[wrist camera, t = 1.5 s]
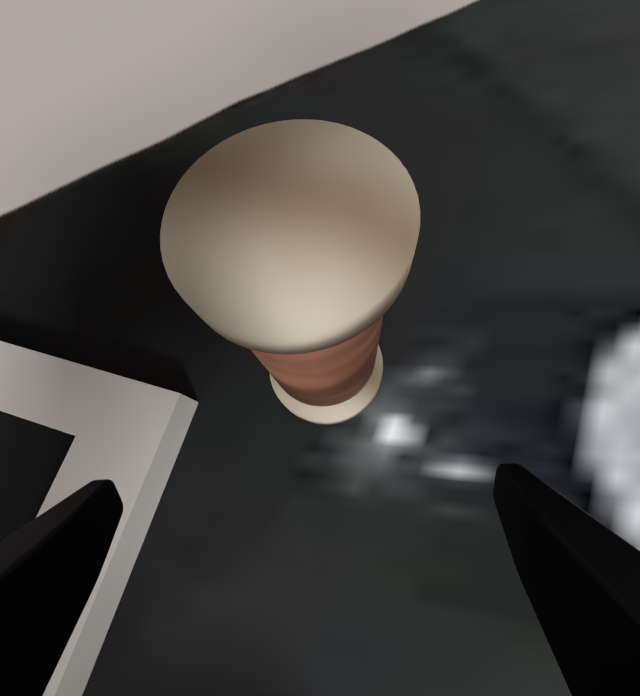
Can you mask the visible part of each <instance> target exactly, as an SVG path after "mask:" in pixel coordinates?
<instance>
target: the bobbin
mask: <svg viewBox="0 0 640 696" xmlns="http://www.w3.org/2000/svg"><path fill="white" fill-rule="evenodd" d="M419 229H420V207H419V200H418V195H417V192H416V189H415V186H414V183H413V181H412V179H411V177H410V176H409V174H408V172H407V170H406V169H405V167H404V166H403V165H402V163H401V162H400V160H399V159H398V158H397V157H396V156H395V155H394V154H393V153H392V152H391V151H390V150H389V149H388V148H387V147H385V146H384V145H383V144H381V143H380V142H379V141H377V140H376V139H374V138H372V137H371V136H369V135H367V134H365V133H363V132H361V131H358V130H356V129H354V128H351V127H348V126H345V125H341V124H338V123H333V122H328V121H321V120H309V119H302V120H286V121H277V122H273V123H268V124H263V125H260V126H257V127H254V128H250V129H248V130H245V131H243V132H240V133H238V134H236V135H234V136H232V137H230V138H228V139H226V140H224V141H222V142H221V143H219V144H218V145H216V146H215V147H213V148H212V149H210V150H209V151H208V152H206V153H205V154H204V155H203V156H202V157H200V158H199V159H198V160H197V161H196V162H195V163H194V164H193V165H192V166H191V167H190V168H189V169H188V170H187V172H186V173H185V174H184V175H183V177H182V178H181V179H180V181H179V182H178V184H177V185H176V187H175V189H174V190H173V192H172V194H171V196H170V198H169V201H168V203H167V205H166V208H165V211H164V215H163V218H162V223H161V231H160V249H161V254H162V260H163V264H164V267H165V269H166V272H167V275H168V277H169V279H170V281H171V283H172V284H173V286H174V288H175V289H176V291H177V292H178V293H179V294H180V296H181V297H182V298H183V300H184V301H185V302H186V303H187V304H188V305H189V306H190V307H191V308H192V309H193V310H194V311H195V312H196V313H197V314H198V315H199V316H200V318H201V319H202V320H203V321H204V322H205V323H207V324H208V325H209V326H210V327H211V328H212V329H213V330H214V331H215V332H217V333H218V334H220V335H221V336H223V337H224V338H226V339H227V340H230V341H232V342H234V343H236V344H238V345H240V346H242V347H245V348H248V349H251V350H252V352H253V353H254V354H255V355H256V357H257V358H258V359H259V360H260V362H261V363H262V364H263V365H264V367H265V368H266V369H267V370H268V372H269V374H270V380H271V383H272V387H273V389H274V391H275V393H276V395H277V396H278V398H279V399H280V401H281V402H282V403H283V404H284V405H285V406H286V407H287V408H288V409H289V410H290V411H291V412H292V413H293V414H295V415H296V416H297V417H299V418H301V419H303V420H305V421H308V422H311V423H315V424H322V425H331V424H338V423H342V422H345V421H348V420H350V419H352V418H354V417H356V416H357V415H359V414H360V413H361V412H363V411H364V410H365V409H366V408H367V407H368V406H369V404H370V403H371V402H372V400H373V399H374V397H375V395H376V393H377V391H378V389H379V385H380V382H381V378H382V372H383V360H382V354H381V350H380V347H379V345H378V343H379V337H380V331H381V326H382V320H383V314H384V313H385V312H386V311H387V310H388V309H389V308H390V307H391V306H392V304H393V303H394V301H395V300H396V298H397V297H398V295H399V294H400V292H401V290H402V288H403V286H404V284H405V282H406V280H407V276H408V273H409V270H410V267H411V263H412V260H413V256H414V252H415V248H416V244H417V241H418V235H419Z"/></svg>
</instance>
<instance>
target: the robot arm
mask: <svg viewBox="0 0 640 696" xmlns="http://www.w3.org/2000/svg"><path fill="white" fill-rule="evenodd" d="M493 497H494V502H495V505H496V508H497V511H498V514H499V517H500V520H501V523H502V526H503V529H504V532H505V536H506V539H507V542H508V545H509V548H510V551H511V554H512V557H513V560H514V563H515V566H516V569H517V572H518V574H519V576H520V579H521V581H522V584H523V586H524V588H525V590H526V593H527V595H528V597H529V599H530V602H531V604H532V606H533V609H534V611H535V613H536V615H537V618H538V620H539V622H540V624H541V627H542V629H543V631H544V633H545V636H546V638H547V640H548V642H549V645H550V647H551V649H552V651H553V654H554V656H555V658H556V661H557V663H558V665H559V667H560V670H561V672H562V674H563V676H564V679H565V681H566V683H567V685H568V688H569V690H570V692H571V694H572V696H640V551H639V550H637V549H636V548H635V547H633V546H632V545H631V544H629V543H628V542H626V541H625V540H624V539H622V538H621V537H619V536H618V535H617V534H615V533H614V532H613V531H611V530H610V529H608V528H607V527H606V526H604V525H603V524H601V523H600V522H599V521H597V520H596V519H594V518H593V517H592V516H590V515H589V514H588V513H586V512H585V511H583V510H582V509H581V508H579V507H578V506H576V505H575V504H574V503H572V502H571V501H569V500H568V499H567V498H565V497H564V496H563V495H561V494H560V493H558V492H557V491H556V490H554V489H553V488H551V487H550V486H549V485H547V484H546V483H544V482H543V481H542V480H540V479H539V478H538V477H536V476H535V475H533V474H532V473H531V472H529V471H528V470H526V469H525V468H524V467H522V466H521V465H519V464H515V463H513V464H500V465H498V467H497V469H496V476H495V482H494V489H493ZM122 513H123V502H122V500H121V497H120V495H119V493H118V491H117V488H116V486H115V484H114V482H113V481H112V480H109V479H101V480H93V481H91V482H89V483H88V484H86V485H85V486H83V487H82V488H80V489H79V490H77V491H76V492H74V493H73V494H71V495H70V496H68V497H67V498H65V499H64V500H62V501H61V502H59V503H58V504H56V505H55V506H53V507H52V508H50V509H49V510H47V511H46V512H44V513H43V514H41V515H40V516H38V517H37V518H35V519H34V520H32V521H31V522H29V523H28V524H26V525H25V526H23V527H22V528H20V529H19V530H17V531H16V532H14V533H13V534H11V535H10V536H8V537H7V538H5V539H4V540H2V541H1V542H0V696H43V694H44V691H45V689H46V687H47V685H48V683H49V681H50V679H51V677H52V675H53V673H54V671H55V668H56V666H57V664H58V662H59V660H60V658H61V656H62V654H63V652H64V650H65V647H66V645H67V643H68V641H69V639H70V637H71V635H72V633H73V631H74V629H75V627H76V624H77V622H78V620H79V618H80V616H81V614H82V612H83V610H84V608H85V606H86V603H87V601H88V599H89V597H90V595H91V593H92V591H93V589H94V586H95V584H96V582H97V580H98V577H99V575H100V572H101V570H102V567H103V565H104V562H105V559H106V557H107V554H108V551H109V549H110V546H111V543H112V541H113V538H114V535H115V532H116V530H117V527H118V524H119V522H120V519H121V516H122Z"/></svg>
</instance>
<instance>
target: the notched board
mask: <svg viewBox="0 0 640 696" xmlns="http://www.w3.org/2000/svg"><path fill="white" fill-rule="evenodd" d="M198 403H199V402H197V401H195V400H193V399H191V398H189V397H187V396H185V395H183V394H181V393H177V392H174V391H170V390H167V389H164V388H160V387H157V386H153V385H150V384H146V383H143V382H140V381H136V380H133V379H129V378H126V377H122V376H119V375H116V374H112V373H109V372H105V371H102V370H98V369H95V368H92V367H88V366H85V365H81V364H78V363H74V362H71V361H68V360H64V359H61V358H57V357H54V356H50V355H47V354H44V353H40V352H37V351H33V350H30V349H26V348H23V347H20V346H16V345H13V344H9V343H6V342H2V341H0V411H2V412H5V413H8V414H11V415H14V416H17V417H20V418H23V419H26V420H29V421H32V422H35V423H38V424H41V425H44V426H47V427H50V428H53V429H56V430H59V431H62V432H65V433H68V434H71V435H74V436H76V437H75V439H74V441H73V443H72V445H71V447H70V449H69V451H68V453H67V455H66V457H65V459H64V461H63V463H62V465H61V467H60V469H59V471H58V473H57V476H56V478H55V480H54V482H53V484H52V486H51V488H50V490H49V492H48V494H47V496H46V498H45V500H44V502H43V504H42V506H41V508H40V510H39V512H38V514H37V517H38V516H40V515H41V514H43V513H44V512H46V511H47V510H49V509H50V508H52V507H53V506H55V505H56V504H58V503H59V502H61V501H62V500H64V499H65V498H67V497H68V496H70V495H71V494H73V493H74V492H76V491H77V490H79V489H80V488H82V487H83V486H85V485H86V484H88V483H89V482H91V481H93V480H101V479H109V480H112V481H113V482H114V484H115V486H116V488H117V491H118V493H119V495H120V497H121V500H122V502H123V513H122V516H121V519H120V522H119V524H118V527H117V530H116V532H115V535H114V538H113V541H112V543H111V546H110V549H109V551H108V554H107V557H106V559H105V562H104V565H103V567H102V570H101V572H100V575H99V577H98V580H97V582H96V584H95V586H94V589H93V591H92V593H91V595H90V597H89V599H88V601H87V603H86V606H85V608H84V610H83V612H82V614H81V616H80V618H79V620H78V622H77V624H76V627H75V629H74V631H73V633H72V635H71V637H70V639H69V641H68V643H67V645H66V647H65V650H64V652H63V654H62V656H61V658H60V660H59V662H58V664H57V666H56V668H55V671H54V673H53V675H52V677H51V679H50V681H49V683H48V685H47V687H46V689H45V691H44V694H43V696H82V695H83V692H84V690H85V687H86V685H87V682H88V680H89V677H90V675H91V672H92V670H93V667H94V665H95V662H96V659H97V657H98V654H99V652H100V649H101V647H102V644H103V642H104V639H105V637H106V634H107V632H108V629H109V627H110V624H111V622H112V619H113V617H114V614H115V612H116V609H117V607H118V604H119V602H120V599H121V597H122V594H123V592H124V589H125V586H126V584H127V581H128V579H129V576H130V574H131V571H132V569H133V566H134V564H135V561H136V559H137V556H138V554H139V551H140V549H141V546H142V544H143V541H144V539H145V536H146V534H147V531H148V529H149V526H150V524H151V521H152V519H153V516H154V514H155V511H156V508H157V506H158V503H159V501H160V498H161V496H162V493H163V491H164V488H165V486H166V483H167V481H168V478H169V476H170V473H171V471H172V468H173V466H174V463H175V461H176V458H177V456H178V453H179V451H180V448H181V446H182V443H183V441H184V438H185V436H186V433H187V430H188V428H189V425H190V423H191V420H192V418H193V415H194V413H195V410H196V408H197V405H198ZM37 517H36V518H37Z"/></svg>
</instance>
